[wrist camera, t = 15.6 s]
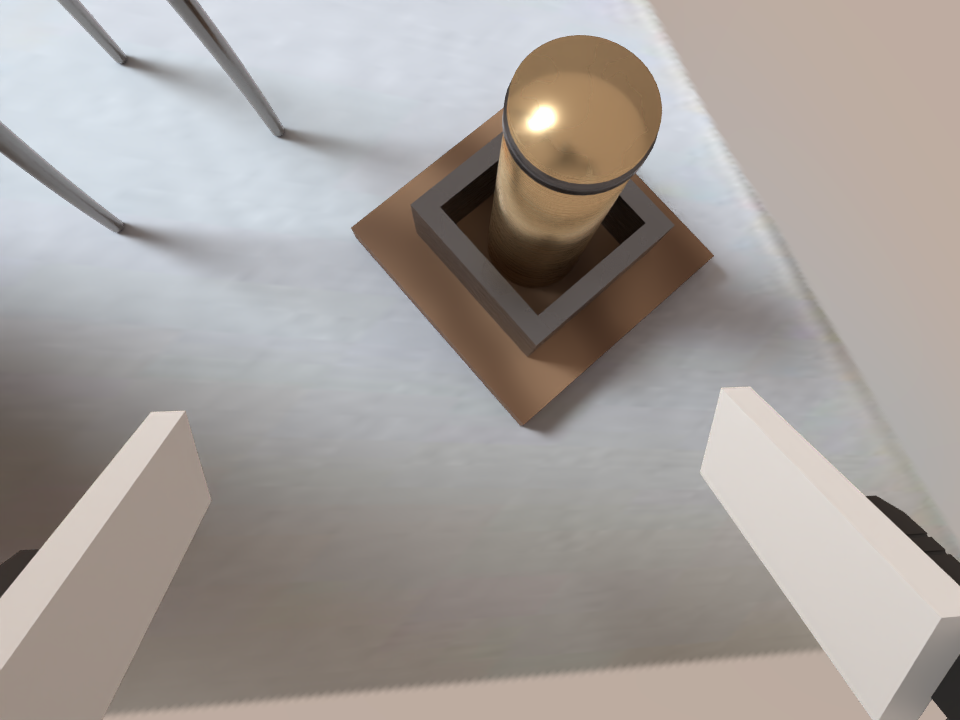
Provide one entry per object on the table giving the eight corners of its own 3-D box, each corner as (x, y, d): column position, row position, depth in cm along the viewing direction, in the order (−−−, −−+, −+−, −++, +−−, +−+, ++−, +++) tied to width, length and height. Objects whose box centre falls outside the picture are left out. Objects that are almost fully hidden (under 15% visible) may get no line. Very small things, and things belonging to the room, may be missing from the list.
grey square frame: (527, 357, 28) (536, 345, 25) (416, 232, 29) (410, 204, 26) (650, 250, 29) (675, 225, 26) (539, 133, 30) (549, 93, 27)
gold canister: (529, 309, 29) (580, 211, 17) (465, 237, 29) (471, 93, 17) (600, 249, 29) (697, 114, 18) (537, 180, 30) (590, 4, 18)
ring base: (520, 425, 29) (523, 425, 28) (356, 238, 31) (351, 227, 29) (702, 264, 31) (714, 255, 29) (539, 93, 32) (543, 76, 31)
